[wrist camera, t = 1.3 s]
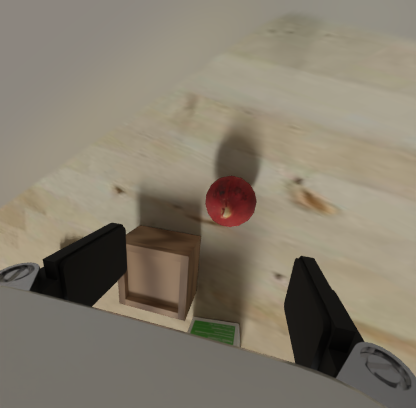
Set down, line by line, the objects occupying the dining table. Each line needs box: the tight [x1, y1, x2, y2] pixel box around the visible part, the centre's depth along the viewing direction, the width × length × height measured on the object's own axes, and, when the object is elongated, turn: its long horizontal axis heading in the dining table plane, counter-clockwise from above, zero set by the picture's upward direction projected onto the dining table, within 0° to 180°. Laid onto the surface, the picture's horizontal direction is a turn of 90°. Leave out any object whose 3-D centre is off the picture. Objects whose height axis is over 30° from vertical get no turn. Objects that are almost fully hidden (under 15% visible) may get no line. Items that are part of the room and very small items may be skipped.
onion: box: [205, 176, 256, 227], centre depth 22 cm, size 6×6×8 cm
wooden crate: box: [118, 225, 201, 321], centre depth 28 cm, size 10×10×6 cm
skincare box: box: [187, 317, 240, 347], centre depth 26 cm, size 8×7×16 cm
